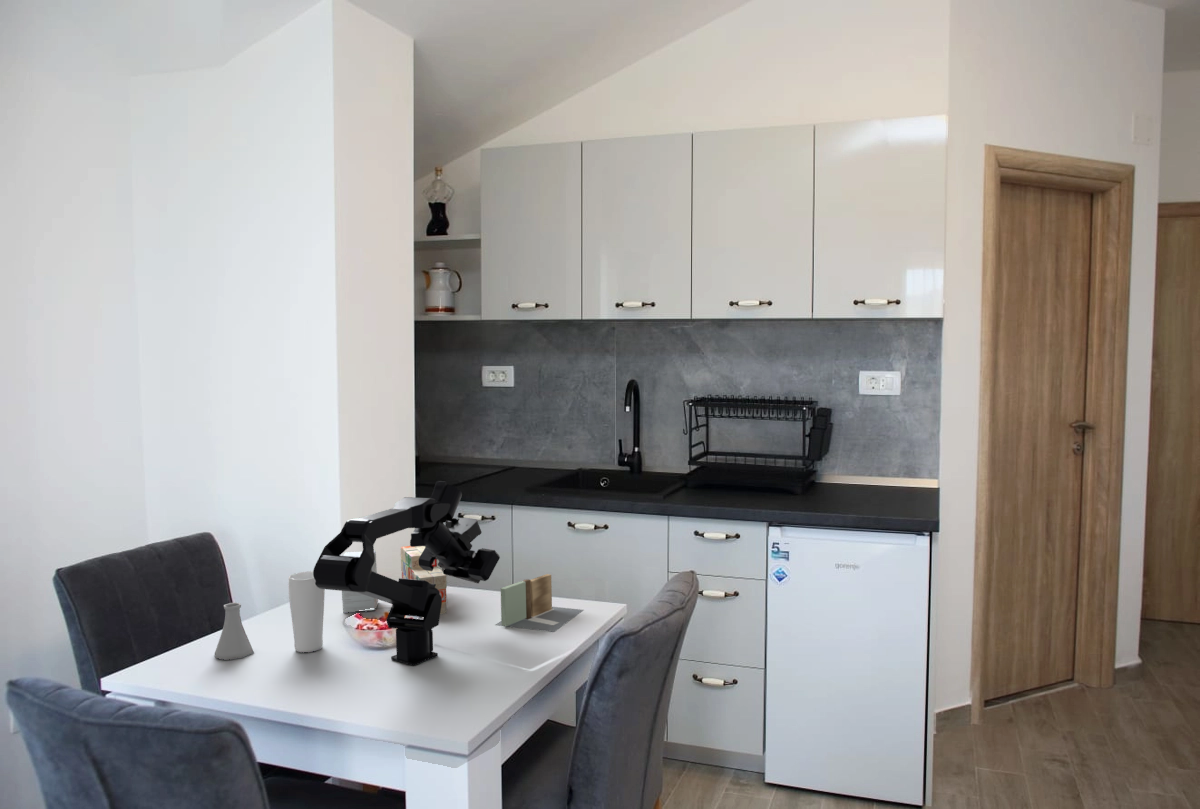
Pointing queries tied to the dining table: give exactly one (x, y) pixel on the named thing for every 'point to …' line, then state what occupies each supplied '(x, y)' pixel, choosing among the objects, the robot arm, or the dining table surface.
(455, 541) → the robot arm
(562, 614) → the board
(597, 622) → the dining table surface
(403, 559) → the stack of blocks
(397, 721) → the dining table surface
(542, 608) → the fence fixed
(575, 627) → the dining table surface
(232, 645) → the flask
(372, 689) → the dining table surface
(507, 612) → the fence hinged panel
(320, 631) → the drinking glass
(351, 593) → the supplement box
